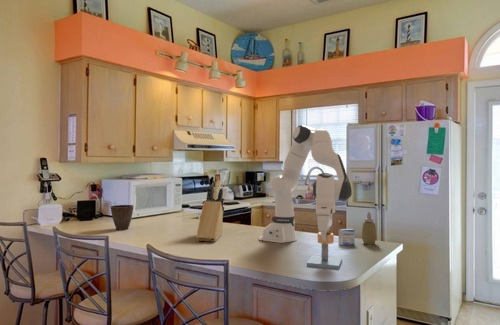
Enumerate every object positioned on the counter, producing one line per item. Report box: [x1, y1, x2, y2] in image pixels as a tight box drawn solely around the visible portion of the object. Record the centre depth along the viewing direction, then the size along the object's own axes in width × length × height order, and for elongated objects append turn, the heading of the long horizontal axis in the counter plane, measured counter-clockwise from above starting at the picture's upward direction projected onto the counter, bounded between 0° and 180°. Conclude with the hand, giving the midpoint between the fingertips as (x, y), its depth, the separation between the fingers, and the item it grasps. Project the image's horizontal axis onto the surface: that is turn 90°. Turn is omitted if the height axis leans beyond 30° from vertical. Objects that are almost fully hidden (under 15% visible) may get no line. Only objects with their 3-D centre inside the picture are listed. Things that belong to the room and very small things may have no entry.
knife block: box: [195, 185, 225, 243], centre depth 231 cm, size 11×35×31 cm, turn 174°
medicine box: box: [338, 228, 356, 246], centre depth 210 cm, size 8×4×9 cm, turn 105°
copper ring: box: [317, 231, 334, 245], centre depth 171 cm, size 7×7×4 cm
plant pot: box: [110, 204, 135, 231], centre depth 255 cm, size 15×15×16 cm
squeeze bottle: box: [361, 211, 377, 246], centre depth 212 cm, size 8×8×18 cm
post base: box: [306, 244, 343, 270], centre depth 171 cm, size 14×14×10 cm
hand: (325, 238), depth 171 cm, fingers closed on copper ring, 7 cm apart
